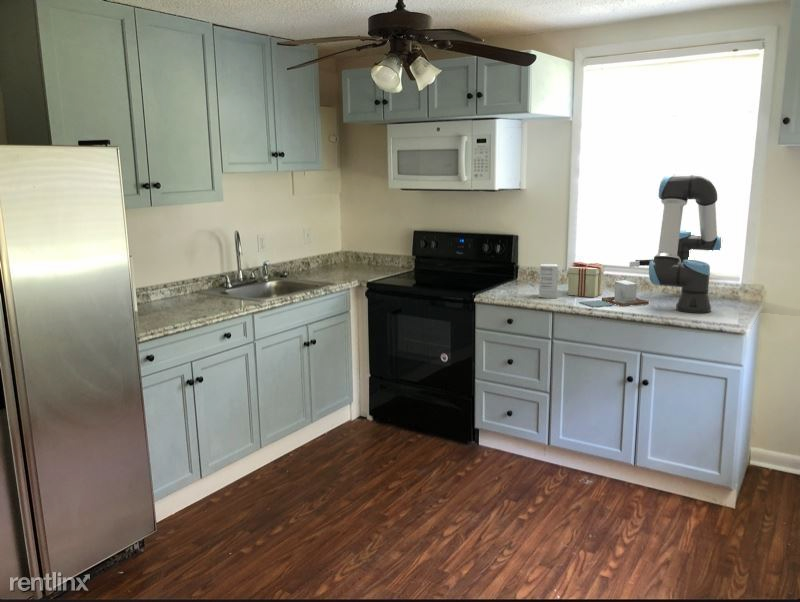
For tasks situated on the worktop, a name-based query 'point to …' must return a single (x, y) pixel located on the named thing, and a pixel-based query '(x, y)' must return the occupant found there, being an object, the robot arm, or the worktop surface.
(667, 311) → the worktop surface
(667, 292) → the worktop surface
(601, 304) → the rubber mat
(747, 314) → the worktop surface
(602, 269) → the gift box
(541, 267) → the supplement box
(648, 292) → the worktop surface
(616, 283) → the skincare box
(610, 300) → the walnut collar
